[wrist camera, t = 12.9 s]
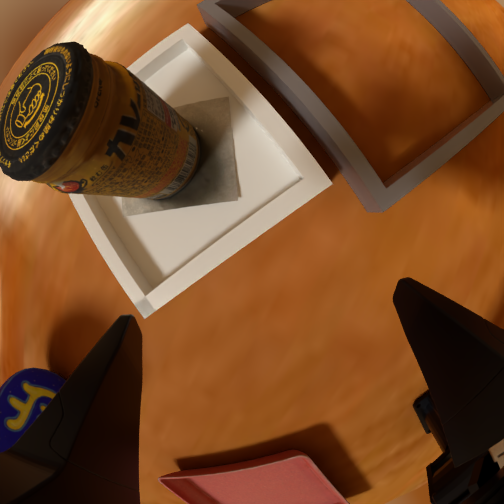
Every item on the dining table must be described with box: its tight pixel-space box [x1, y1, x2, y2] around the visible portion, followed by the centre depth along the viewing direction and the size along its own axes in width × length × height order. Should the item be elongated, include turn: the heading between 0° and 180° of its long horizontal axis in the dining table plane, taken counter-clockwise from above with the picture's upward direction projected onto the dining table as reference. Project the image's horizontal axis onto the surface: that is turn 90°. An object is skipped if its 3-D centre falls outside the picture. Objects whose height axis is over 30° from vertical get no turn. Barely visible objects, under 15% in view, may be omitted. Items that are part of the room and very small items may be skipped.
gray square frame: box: [197, 0, 504, 212], centre depth 14 cm, size 20×20×3 cm
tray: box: [69, 24, 333, 319], centre depth 17 cm, size 16×15×2 cm
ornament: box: [0, 368, 66, 453], centre depth 16 cm, size 11×9×15 cm
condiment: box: [0, 42, 238, 217], centre depth 11 cm, size 7×8×12 cm
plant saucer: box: [158, 449, 350, 504], centre depth 21 cm, size 18×18×3 cm
